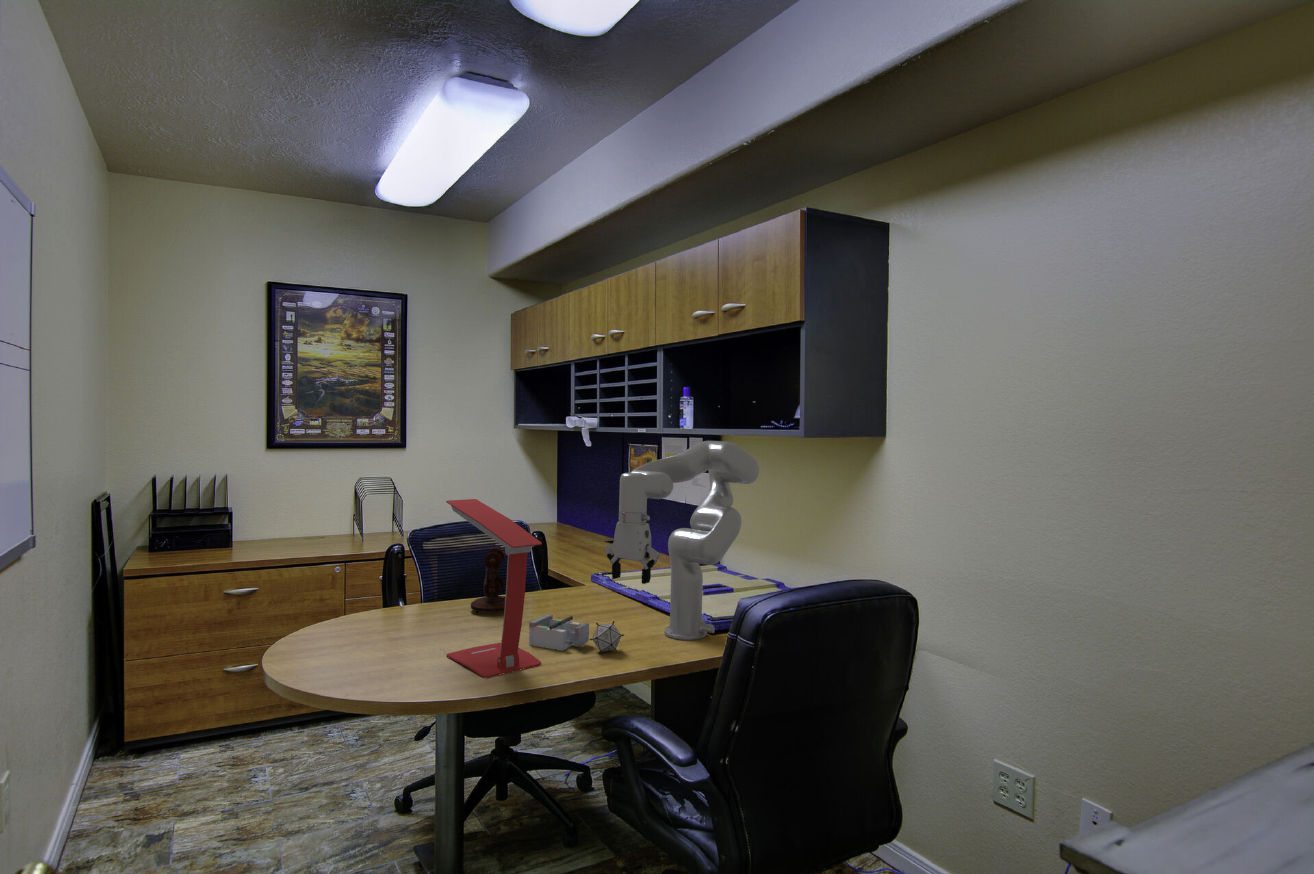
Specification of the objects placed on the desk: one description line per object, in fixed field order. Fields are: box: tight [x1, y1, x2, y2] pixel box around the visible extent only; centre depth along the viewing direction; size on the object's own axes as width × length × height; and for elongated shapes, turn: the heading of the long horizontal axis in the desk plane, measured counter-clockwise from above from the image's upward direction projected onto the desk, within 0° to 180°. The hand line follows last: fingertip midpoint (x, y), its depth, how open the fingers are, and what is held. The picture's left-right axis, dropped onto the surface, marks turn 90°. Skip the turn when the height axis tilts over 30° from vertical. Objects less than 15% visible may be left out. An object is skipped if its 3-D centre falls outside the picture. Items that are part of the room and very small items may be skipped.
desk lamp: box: [445, 498, 543, 678], centre depth 187 cm, size 18×38×40 cm, turn 40°
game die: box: [589, 620, 625, 655], centre depth 194 cm, size 9×8×10 cm
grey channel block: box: [549, 615, 590, 648], centre depth 198 cm, size 8×12×5 cm
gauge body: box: [528, 613, 582, 651], centre depth 200 cm, size 11×10×6 cm
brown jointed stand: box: [470, 547, 506, 615], centre depth 233 cm, size 15×15×20 cm
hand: (630, 580), depth 193 cm, fingers open, 9 cm apart
